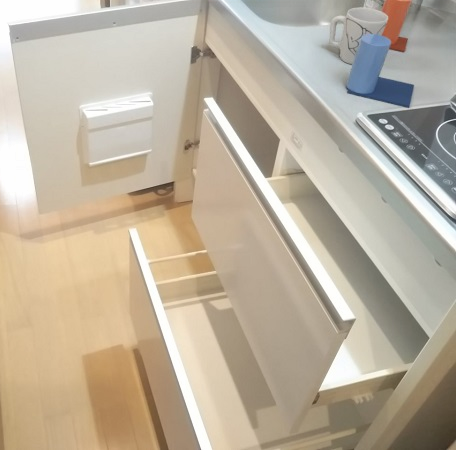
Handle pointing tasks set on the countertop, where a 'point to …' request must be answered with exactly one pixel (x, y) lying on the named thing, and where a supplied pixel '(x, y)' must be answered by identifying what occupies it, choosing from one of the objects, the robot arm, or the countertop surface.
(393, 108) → the countertop surface
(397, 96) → the blue mat
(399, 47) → the terracotta mat
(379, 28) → the mug
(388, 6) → the tall orange cylinder
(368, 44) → the light blue cylinder
